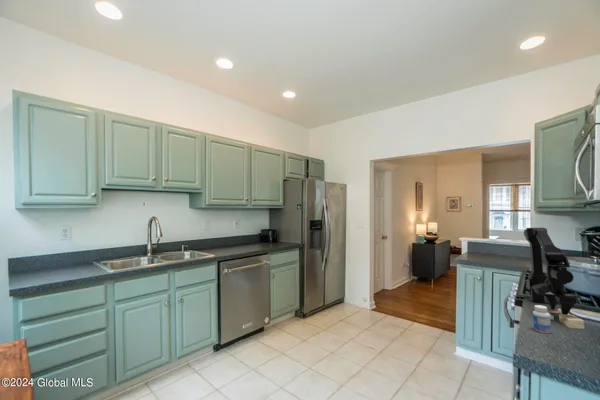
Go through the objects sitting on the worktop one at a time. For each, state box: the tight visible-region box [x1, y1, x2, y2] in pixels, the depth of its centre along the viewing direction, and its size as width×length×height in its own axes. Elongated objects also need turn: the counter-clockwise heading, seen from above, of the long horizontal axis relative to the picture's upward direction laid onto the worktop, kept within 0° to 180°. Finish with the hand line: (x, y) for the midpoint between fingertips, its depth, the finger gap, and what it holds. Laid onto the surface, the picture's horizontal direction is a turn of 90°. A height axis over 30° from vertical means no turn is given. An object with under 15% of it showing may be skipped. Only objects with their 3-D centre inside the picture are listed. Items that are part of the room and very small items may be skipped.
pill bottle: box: [532, 304, 552, 334], centre depth 114 cm, size 6×5×10 cm
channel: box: [547, 308, 571, 321], centre depth 129 cm, size 12×9×2 cm
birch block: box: [558, 314, 585, 330], centre depth 118 cm, size 7×5×4 cm
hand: (558, 313), depth 127 cm, fingers open, 9 cm apart
